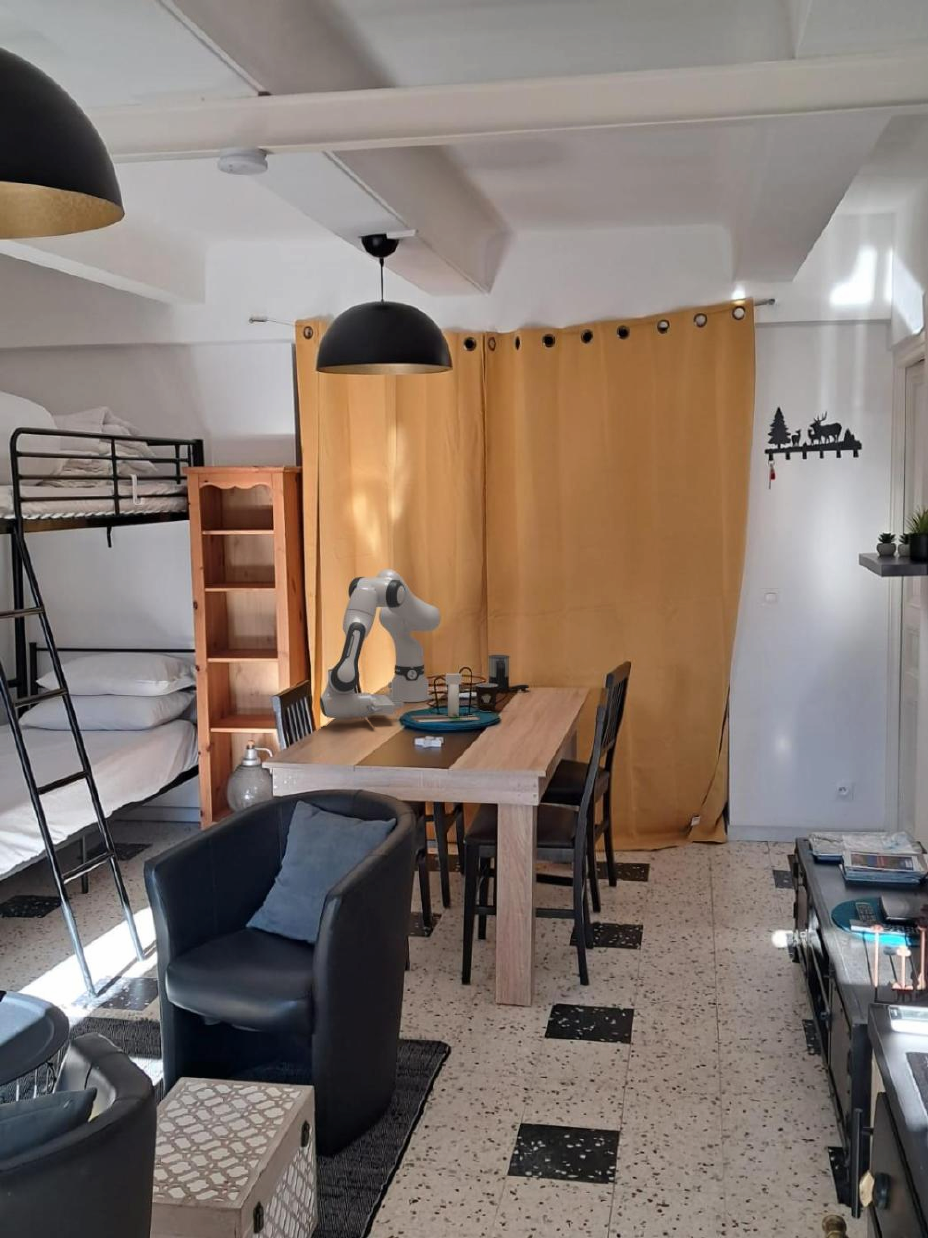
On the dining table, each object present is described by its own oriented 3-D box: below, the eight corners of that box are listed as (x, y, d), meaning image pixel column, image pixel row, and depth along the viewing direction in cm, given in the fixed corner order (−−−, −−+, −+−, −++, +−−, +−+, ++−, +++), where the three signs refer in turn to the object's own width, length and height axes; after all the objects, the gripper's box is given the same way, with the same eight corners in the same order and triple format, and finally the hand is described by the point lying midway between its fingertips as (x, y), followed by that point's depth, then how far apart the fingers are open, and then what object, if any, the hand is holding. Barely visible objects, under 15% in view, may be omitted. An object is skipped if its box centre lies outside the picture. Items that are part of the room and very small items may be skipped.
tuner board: (410, 720, 444) (410, 715, 443) (473, 717, 449) (473, 713, 449) (416, 726, 432) (416, 721, 432) (481, 723, 437) (481, 719, 437)
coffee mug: (471, 711, 461) (471, 685, 459) (481, 708, 468) (481, 682, 467) (498, 714, 455) (498, 688, 454) (508, 710, 463) (508, 685, 462)
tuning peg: (444, 715, 442) (444, 673, 440) (459, 714, 443) (459, 673, 442) (449, 719, 435) (449, 676, 433) (464, 718, 436) (464, 676, 434)
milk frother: (484, 689, 511) (484, 654, 509) (517, 687, 517) (517, 652, 516) (498, 694, 498) (498, 659, 496) (532, 692, 504) (532, 657, 503)
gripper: (369, 701, 422) (408, 700, 426) (361, 691, 442) (398, 690, 445) (369, 719, 423) (408, 717, 426) (361, 708, 443) (398, 707, 446)
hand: (403, 704), depth 436 cm, fingers closed
